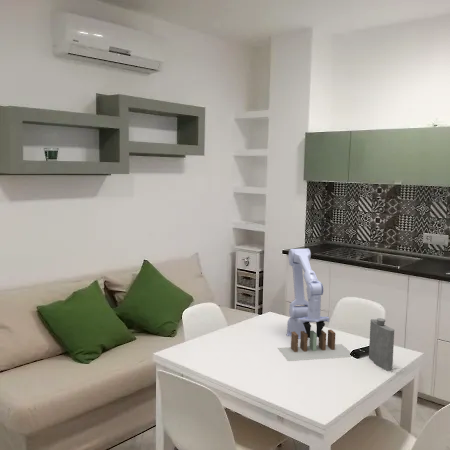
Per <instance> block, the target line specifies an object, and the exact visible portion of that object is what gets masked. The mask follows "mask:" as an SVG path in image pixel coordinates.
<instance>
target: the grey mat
mask: <svg viewBox="0 0 450 450" xmlns="http://www.w3.org/2000/svg"><path fill="white" fill-rule="evenodd" d="M277 350H278V351H279V352H280V353H281V354H282V356H283V357H284V358H285V359H286V361H287V362H296V361H298V362H299V361H310V360H313V361H315V360H326V359H339V358H341V359H342V358H343V359H344V358H353V356H351V355H350V353H351V351H350V350H349V349H348V348H347V347H345V346H344V345H343V343H335V350H331V349H330V348H329V347H328V346H327V344H326V350H323V351H322V350H321V349H320V348H319V347H318V345H317V346H316V351H313V350H312V349H311V348H310V347H309V345H307V352H304V351H303V350H302V349H301V348H300V346H298V352H294V351H293V350H292V349H291V346H287V347H277Z"/></svg>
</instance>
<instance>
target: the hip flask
mask: <svg viewBox="0 0 450 450" xmlns="http://www.w3.org/2000/svg"><path fill="white" fill-rule="evenodd" d="M394 343H395V329H394V328H391V327H389V326H387V325H386V319H385V318H380V317H378V318H374V319H373V318H372V319H370V327H369V344H368V345H369V348H368V358H369V360H370V361H371V362H373V364H375V365H376V366H378V367H379V368H381V369H383V370H384V371H385V372H391V371H393V363H394V345H395V344H394Z"/></svg>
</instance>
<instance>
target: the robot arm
mask: <svg viewBox="0 0 450 450" xmlns="http://www.w3.org/2000/svg"><path fill="white" fill-rule="evenodd" d="M311 256H312V253H311V249H310V248H309V247H307V248H290V249H289V250H288V264H289V266H290V267H292V277H293V278H292V279H293V289H294V290H293V292H294V300H292V301H291V302H290V303H289V310H288V311H289V318H288V320H287V326H286V328H287V329H286V331H287V332H286V336H287V337H291V332H296V333H297V334H298V340H300V337H301V331H304V332H305V333H307V334H308V339H310V331H311V328H312V325H311V323H316V332H315V333H316V334H317V339H319V337H320V334H321V331H322V330H323V329H324V327H325V325H326V323H330V317H329V316H323V315H321V309H322V308H321V307H322V305H321V303H322V296H323V295H324V285H323V283H322V282H321V281H320V280H319V279H318V277H317V274H316V271H314V270H312V266H311V263H310V261H311ZM304 281H305V283H304ZM304 284H306V295H307V296H306V297H307V299H305V286H304Z"/></svg>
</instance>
